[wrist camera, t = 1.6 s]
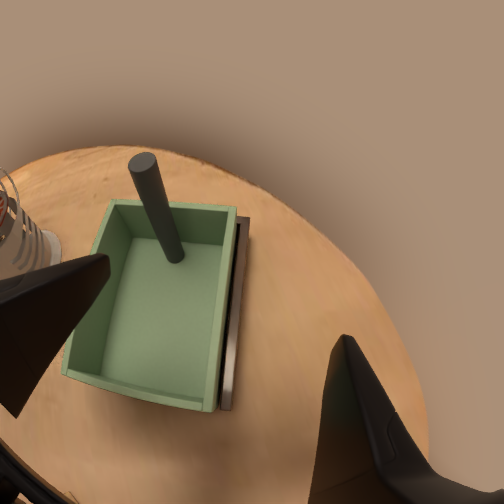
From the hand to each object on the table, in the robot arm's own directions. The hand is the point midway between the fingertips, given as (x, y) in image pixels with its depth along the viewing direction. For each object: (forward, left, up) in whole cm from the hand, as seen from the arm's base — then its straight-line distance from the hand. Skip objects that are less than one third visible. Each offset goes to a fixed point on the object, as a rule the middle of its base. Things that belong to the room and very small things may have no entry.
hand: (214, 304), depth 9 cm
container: (-2, +6, -15) cm, 16 cm away
